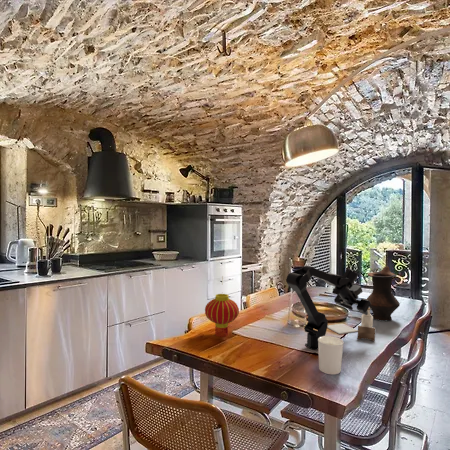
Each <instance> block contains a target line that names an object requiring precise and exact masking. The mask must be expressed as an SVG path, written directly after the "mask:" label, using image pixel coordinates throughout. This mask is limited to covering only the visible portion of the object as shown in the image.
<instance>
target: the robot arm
mask: <svg viewBox="0 0 450 450" xmlns="http://www.w3.org/2000/svg"><path fill="white" fill-rule="evenodd" d="M313 277H314V278H316V279H319V280H322V281H324V283H325V284H327V285H328V286H332V287H333V289H332V294H333V295H336V296H335V298H334V299H333V300H334V303H335V304H336V305H339V306H340V307H343V308H345V309H348V310H350V311H353V305H356V310H357V311H358V313H359V312H360V313H362V315H363V314H365V315H367V314H368V311H367V310H368V308H370V307H369V306H370V305H371V302H370V301H369V300H366V299H367V298H361V299H358V298H359V295H360V294H362V293H363V289H362V285H360V284H359V285H358V284H354V283H355V282H356V280H357V278H358V277H359V275H358V274H357V273H356V272H355V271H353V270H352V269H351V268H346V269H345V271H344V273H343V274H342V275H340V274H336V273H331V272H330V273H329V272H325V271H322V270H320V269H318V268H315V267H314V266H311V265H304V266H302V267H301V268H299V269H297V270H293V271H292V272H290V273H288V274H287V277H286V279H285V280H286V284H287V285H288V287H289V288H290V289H292V290H293V291H294V292H295V293H296V295H297V297H298V299H299V301H300V302H301V304H302V306H303V308H304V310H305V312H306V314H307V323H306V325H305V326H304V327H303V329H304V332H305V333H307V335H306V336H307V338H306V343H304V345H305V346H306V347H308V348H309V349H310V350H312V351H315V350H318V338H319V337H322V336H326V333H327V330H328V328H327V327H328V325H329V323H328V319H327V316H326V315H325V313H323V312H320V311H319V310H318V309H317V307H316V305H315V303H314V300H313V299H312V297H311V295H310V293H309V291H308V289H307V286H308V283H309V282H310V281H311V278H313Z"/></svg>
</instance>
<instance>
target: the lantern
mask: <svg viewBox="0 0 450 450" xmlns="http://www.w3.org/2000/svg"><path fill="white" fill-rule="evenodd" d="M223 277H224V276H223V275H222V276H221V278H222V281H221V282H222V283H221V284H223V281H224V280H223V279H224V278H223ZM239 313H240V308H239V306H238V304H237V303H236V302H235V301H234V300H233V299H232V298H229V294H227V293H217V294H215V298H213V299H211V300H209V301H208V302H207V304H206V305H205V307H204V315H205V317H206V318H207V319H208V320H210V322H212V323H213V324H215V326H214V327H215V331H214V332H215V335H214V336H216V337H227V336H228V334H229V333H228V332H229V324H230V323H232V322H234V321H236V319H237V317H238V316H239Z"/></svg>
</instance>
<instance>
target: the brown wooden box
mask: <svg viewBox="0 0 450 450" xmlns="http://www.w3.org/2000/svg"><path fill="white" fill-rule="evenodd" d="M357 330H358V332H357V339H358V340H361V339H363V340H369V341H371V342H376V327H366V326H361V325H359V324H358V325H357Z"/></svg>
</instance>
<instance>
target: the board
mask: <svg viewBox="0 0 450 450" xmlns="http://www.w3.org/2000/svg"><path fill="white" fill-rule="evenodd" d="M327 330H330V331H333V332H334V333H336V334H339V335H344V334H345V335H346V334H352V333H358V329H356V328H353V327H352V326H349V325H347V324H345V323H337V324H336V323H335V324H328V327H327Z"/></svg>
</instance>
